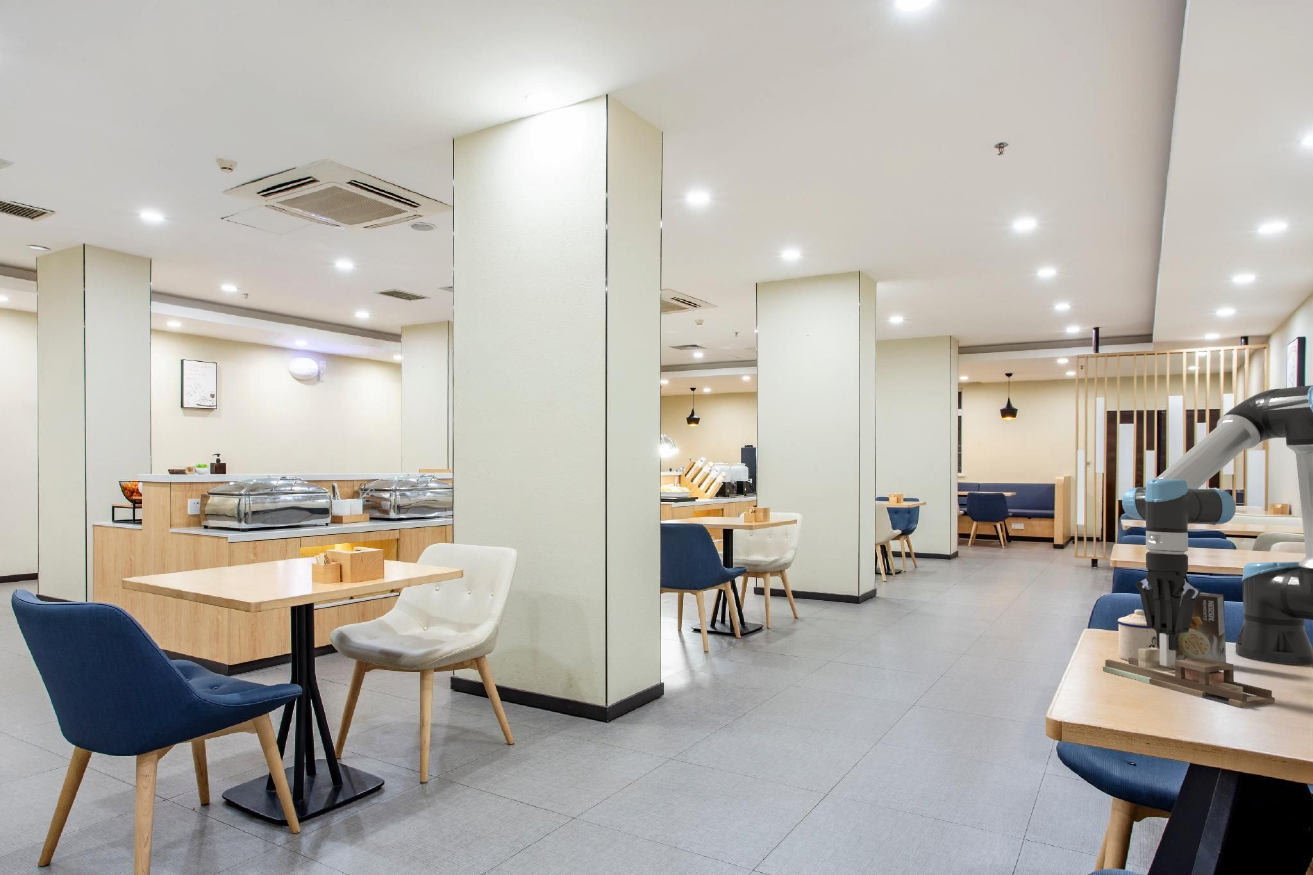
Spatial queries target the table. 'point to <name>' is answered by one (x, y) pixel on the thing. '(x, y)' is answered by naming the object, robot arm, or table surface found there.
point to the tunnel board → (1192, 686)
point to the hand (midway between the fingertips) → (1167, 664)
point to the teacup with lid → (1135, 635)
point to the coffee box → (1205, 630)
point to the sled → (1151, 661)
